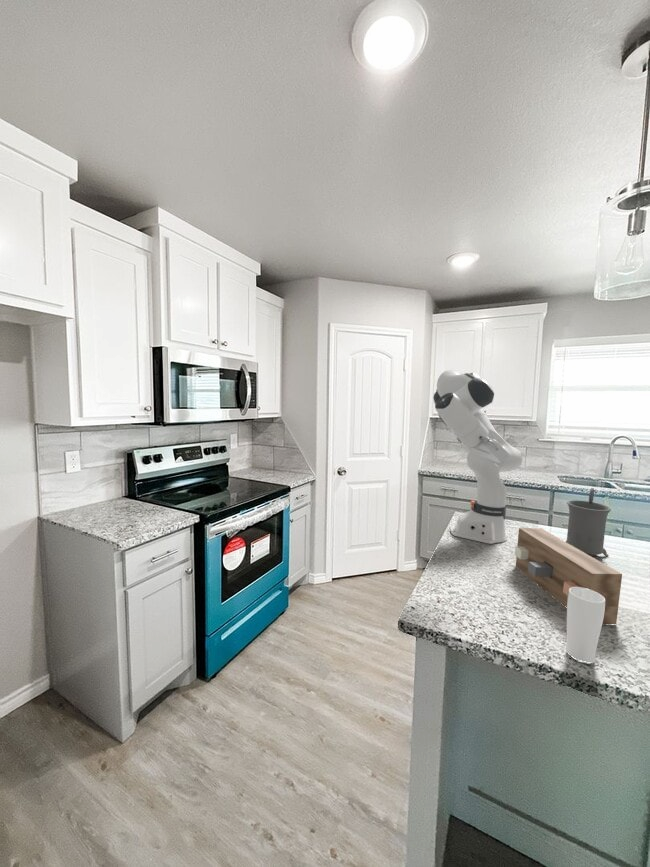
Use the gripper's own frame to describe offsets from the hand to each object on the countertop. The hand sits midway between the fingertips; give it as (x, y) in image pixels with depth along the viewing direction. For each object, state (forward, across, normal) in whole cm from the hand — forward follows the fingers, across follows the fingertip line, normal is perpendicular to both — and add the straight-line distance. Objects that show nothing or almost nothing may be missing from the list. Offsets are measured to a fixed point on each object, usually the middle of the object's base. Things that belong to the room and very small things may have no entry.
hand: (499, 465), depth 121 cm
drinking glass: (+24, -43, +26) cm, 56 cm away
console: (+35, -15, +16) cm, 41 cm away
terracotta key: (+28, -27, +14) cm, 42 cm away
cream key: (+29, -3, +14) cm, 33 cm away
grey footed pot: (+58, +13, -6) cm, 59 cm away
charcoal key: (+27, -15, +16) cm, 35 cm away
